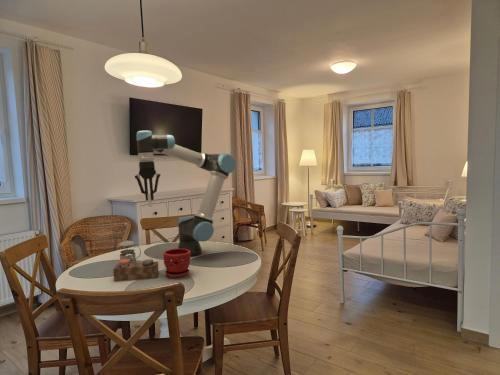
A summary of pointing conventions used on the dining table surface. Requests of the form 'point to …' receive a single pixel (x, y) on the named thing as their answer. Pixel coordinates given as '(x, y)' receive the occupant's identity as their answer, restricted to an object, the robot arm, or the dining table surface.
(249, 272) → the dining table surface
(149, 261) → the charcoal plug
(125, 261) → the red plug
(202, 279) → the dining table surface
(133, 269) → the socket block
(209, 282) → the dining table surface
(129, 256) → the french press
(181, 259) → the plant pot
